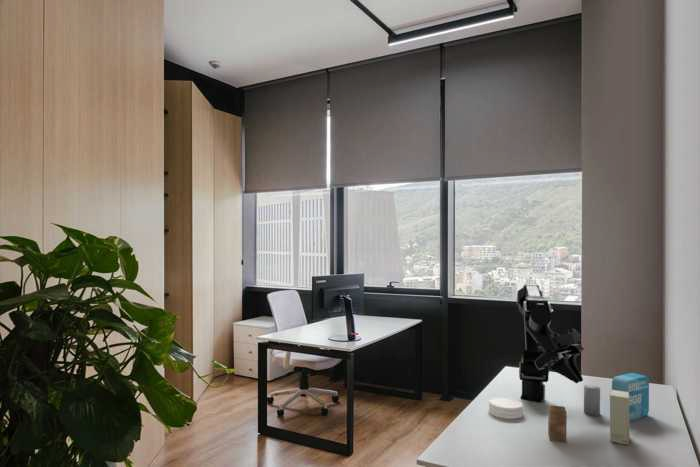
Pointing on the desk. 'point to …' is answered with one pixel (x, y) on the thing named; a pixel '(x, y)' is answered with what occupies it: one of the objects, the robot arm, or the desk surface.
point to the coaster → (506, 408)
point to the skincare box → (619, 417)
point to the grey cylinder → (592, 400)
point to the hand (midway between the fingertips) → (579, 381)
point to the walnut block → (557, 423)
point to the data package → (634, 393)
